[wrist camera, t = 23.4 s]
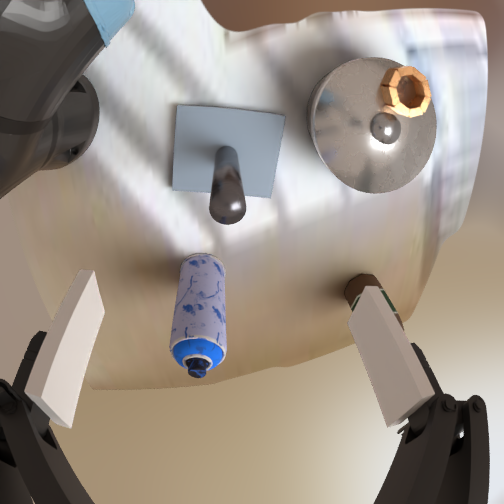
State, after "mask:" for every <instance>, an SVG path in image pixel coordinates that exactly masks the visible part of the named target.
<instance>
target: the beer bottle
mask: <svg viewBox="0 0 504 504" xmlns="http://www.w3.org/2000/svg"><path fill="white" fill-rule="evenodd" d="M365 286H378V288H379V289H380V291H381V293H382V294H383V296H384V298H385V299H386V301H387V303H388V304H389V306H390V308H391V310H392V311H393V313H394V315H395V317H396V318H397V320H398V322H399V324H400V325H401V327H402V329H403V331H404V328H403V324H402V321H401V319H400V317H399V315H398V313H397V311H396V309H395V308H394V306H393V304H392V302H391V301H390V299H389V297H388V296H387V294H386V293H385V291H384V289H383V288H382V286H381V284H380V283H379V281H378V280H377V278H376V277H375V276H374V275H366V274H361V275H359V276H358V277H356V278H354V279H353V280H351V281H350V282H349V284H348V286H347V288H346V290H345V292H344V294H345V296H346V299H347V301H348V303H349V305H350V308H351V310H352V312H353V311H354V309H355V307H356V305H357V303H358V301H359V299H360V297H361V295H362V293H363V290H364V288H365Z"/></svg>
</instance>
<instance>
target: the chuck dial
mask: <svg viewBox="0 0 504 504" xmlns="http://www.w3.org/2000/svg"><path fill="white" fill-rule="evenodd" d="M425 79H426V77H425V76H424V75H423V74H421V73H420V72H419V71H418V70H417V69H416V68H414V67H412V66H403V65H401V64H399V63H397V62H395V61H392V60H389V59H385V58H375V57H371V58H361V59H355V60H351V61H348V62H346V63H344V64H342V65H340V66H339V67H337V68H336V69H334V70H333V71H332V72H331V73H330V74H329V75H328V76H327V77H326V78H325V79H324V81H323V82H322V84H321V85H320V87H319V89H318V90H317V93H316V95H315V98H314V101H313V105H312V110H311V133H312V138H313V142H314V145H315V148H316V150H317V153H318V154H319V156H320V158H321V160H322V161H323V163H324V164H325V165H326V167H327V168H328V169H329V170H330V171H331V172H332V173H333V174H334V175H335V176H336V177H337V178H338V179H340V180H341V181H342V182H343V183H345V184H346V185H348V186H350V187H351V188H354V189H356V190H358V191H362V192H366V193H385V192H390V191H393V190H396V189H398V188H401V187H403V186H404V185H406V184H407V183H409V182H410V181H411V180H413V179H414V178H415V177H416V176H417V175H418V174H419V173H420V172H421V170H422V169H423V168H424V166H425V165H426V163H427V161H428V159H429V157H430V155H431V153H432V150H433V147H434V143H435V138H436V114H435V109H434V105H433V102H432V99H431V93H430V89H429V84H428V80H425Z"/></svg>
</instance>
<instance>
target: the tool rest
mask: <svg viewBox="0 0 504 504" xmlns="http://www.w3.org/2000/svg"><path fill="white" fill-rule="evenodd" d="M285 117H286V116H284V115H279V114H273V113H266V112H259V111H251V110H243V109H233V108H223V107H210V106H194V105H177V114H176V127H175V141H174V159H173V185H172V190H173V191H190V192H205V193H211V188H212V179H213V171H214V162H215V155H216V152H217V150H218V149H219V148H221V147H223V146H230V147H233V148H234V149H235V150H236V151H237V154H238V159H239V166H240V172H241V178H242V184H243V190H244V196H253V197H264V198H271V194H272V189H273V184H274V178H275V173H276V167H277V162H278V156H279V151H280V145H281V140H282V134H283V129H284V123H285Z"/></svg>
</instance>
